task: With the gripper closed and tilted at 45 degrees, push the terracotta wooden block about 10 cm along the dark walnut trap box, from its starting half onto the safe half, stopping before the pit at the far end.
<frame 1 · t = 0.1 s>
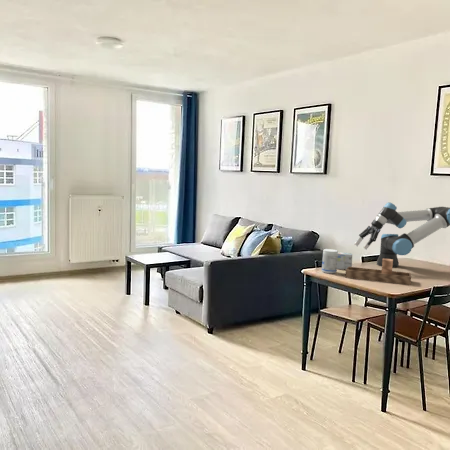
hand: (360, 246, 327), 15 cm above the table, tool tilted 35°, fingers open, 13 cm apart
trap box: (377, 279, 297), on the table
light bulb box: (343, 269, 327), on the table
supplement tub: (329, 272, 313), on the table
block: (386, 275, 295), point 3 cm above the table, touching trap box
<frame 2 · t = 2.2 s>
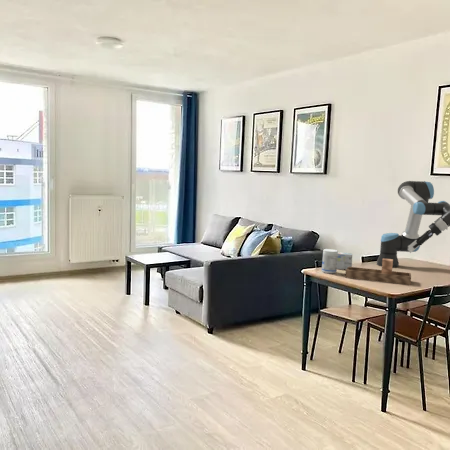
hand: (409, 249, 290), 20 cm above the table, tool tilted 45°, fingers open, 13 cm apart
nothing on the table moved.
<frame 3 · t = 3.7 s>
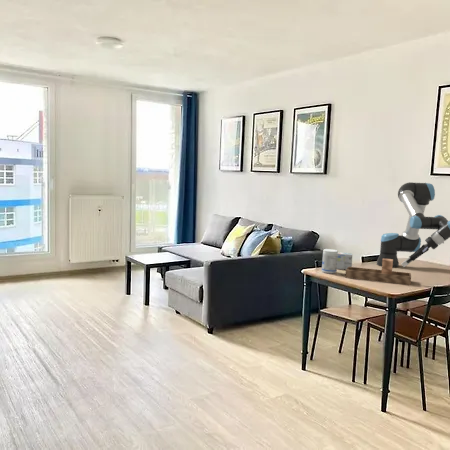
hand: (402, 265, 291), 10 cm above the table, tool tilted 45°, fingers closed
nothing on the table moved.
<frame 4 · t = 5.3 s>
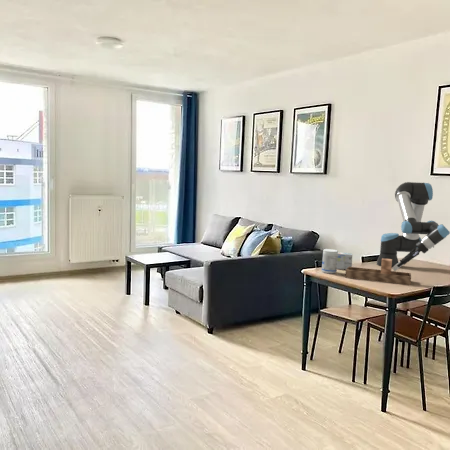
hand: (393, 269, 293), 7 cm above the table, tool tilted 45°, fingers closed
block: (385, 275, 296), point 3 cm above the table, touching gripper
everything else where it was.
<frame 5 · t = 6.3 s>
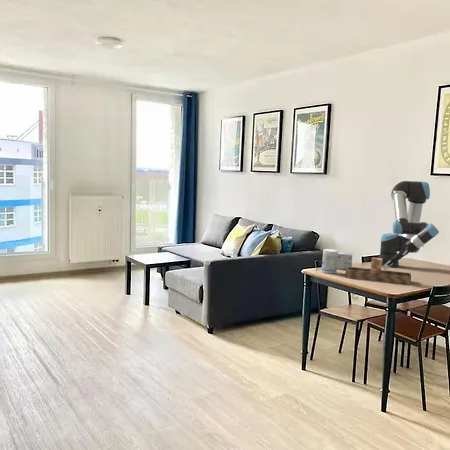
hand: (383, 268, 295), 7 cm above the table, tool tilted 45°, fingers closed
block: (375, 274, 297), point 3 cm above the table, touching trap box
everything else where it was.
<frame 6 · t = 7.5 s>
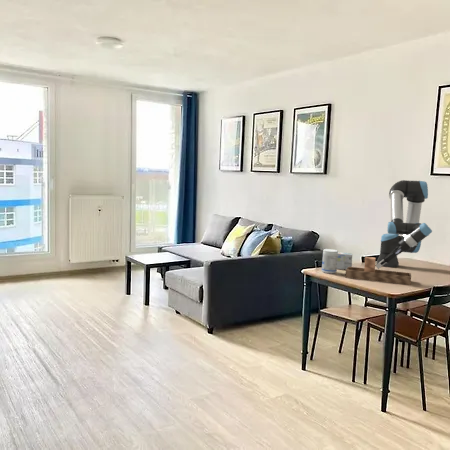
hand: (376, 267, 297), 8 cm above the table, tool tilted 45°, fingers closed
block: (369, 273, 299), point 3 cm above the table, touching gripper, trap box
everything else where it was.
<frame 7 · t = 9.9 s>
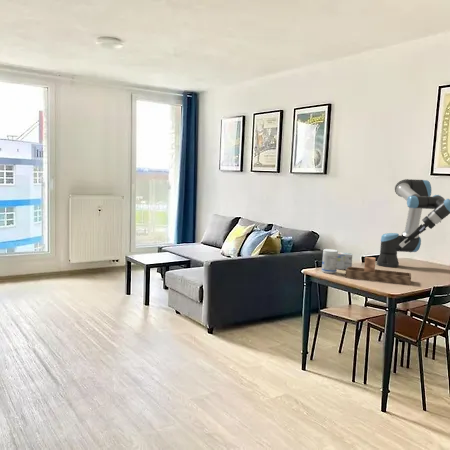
hand: (400, 246, 292), 22 cm above the table, tool tilted 45°, fingers closed
block: (369, 273, 299), point 3 cm above the table, touching trap box
everything else where it was.
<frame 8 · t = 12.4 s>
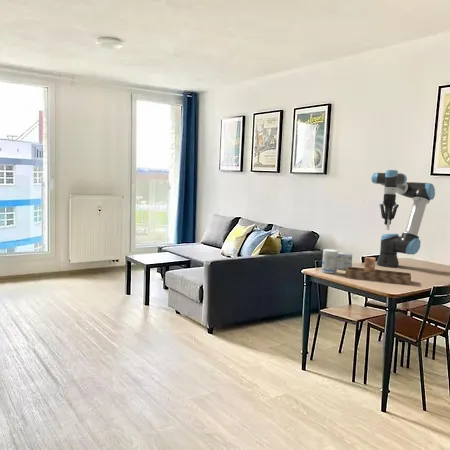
hand: (387, 229, 313), 29 cm above the table, tool pointing down, fingers closed
nothing on the table moved.
at the end: block 0.4 cm from the target spot, point 3.0 cm above the table; block tilted 0° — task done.
